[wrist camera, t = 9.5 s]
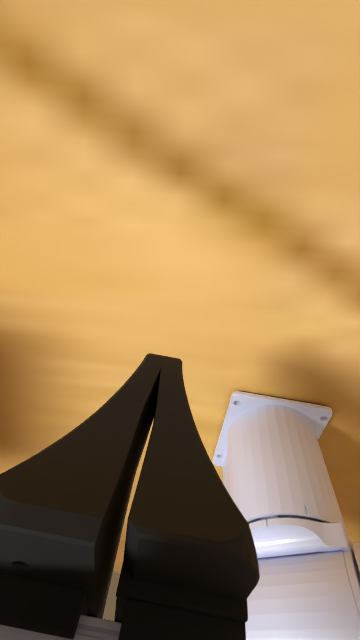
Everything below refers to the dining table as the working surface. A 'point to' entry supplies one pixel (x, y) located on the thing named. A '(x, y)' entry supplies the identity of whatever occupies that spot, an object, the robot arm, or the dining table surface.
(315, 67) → the dining table surface
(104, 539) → the robot arm
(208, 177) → the dining table surface
